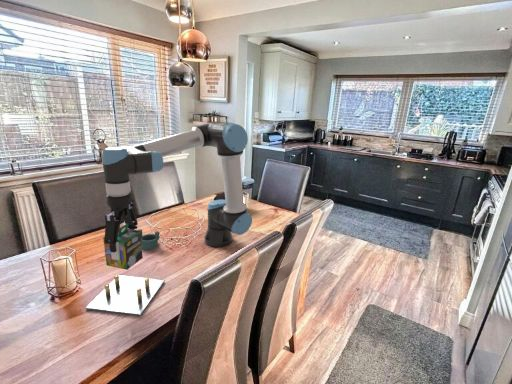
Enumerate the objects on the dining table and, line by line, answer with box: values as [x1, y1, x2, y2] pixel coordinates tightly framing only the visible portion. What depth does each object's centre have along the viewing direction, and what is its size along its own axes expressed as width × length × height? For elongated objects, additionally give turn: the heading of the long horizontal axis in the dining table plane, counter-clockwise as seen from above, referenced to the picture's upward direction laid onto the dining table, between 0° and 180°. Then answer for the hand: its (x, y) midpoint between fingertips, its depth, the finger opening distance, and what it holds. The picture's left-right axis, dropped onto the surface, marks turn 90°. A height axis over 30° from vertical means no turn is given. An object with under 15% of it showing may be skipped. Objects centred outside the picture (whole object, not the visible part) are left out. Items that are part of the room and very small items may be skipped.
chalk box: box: [102, 224, 143, 271], centre depth 100 cm, size 9×9×15 cm
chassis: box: [85, 274, 165, 317], centre depth 106 cm, size 20×20×6 cm
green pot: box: [137, 229, 160, 251], centre depth 142 cm, size 9×9×9 cm
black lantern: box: [213, 191, 247, 201], centre depth 201 cm, size 15×15×25 cm
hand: (124, 251), depth 101 cm, fingers closed on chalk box, 10 cm apart
